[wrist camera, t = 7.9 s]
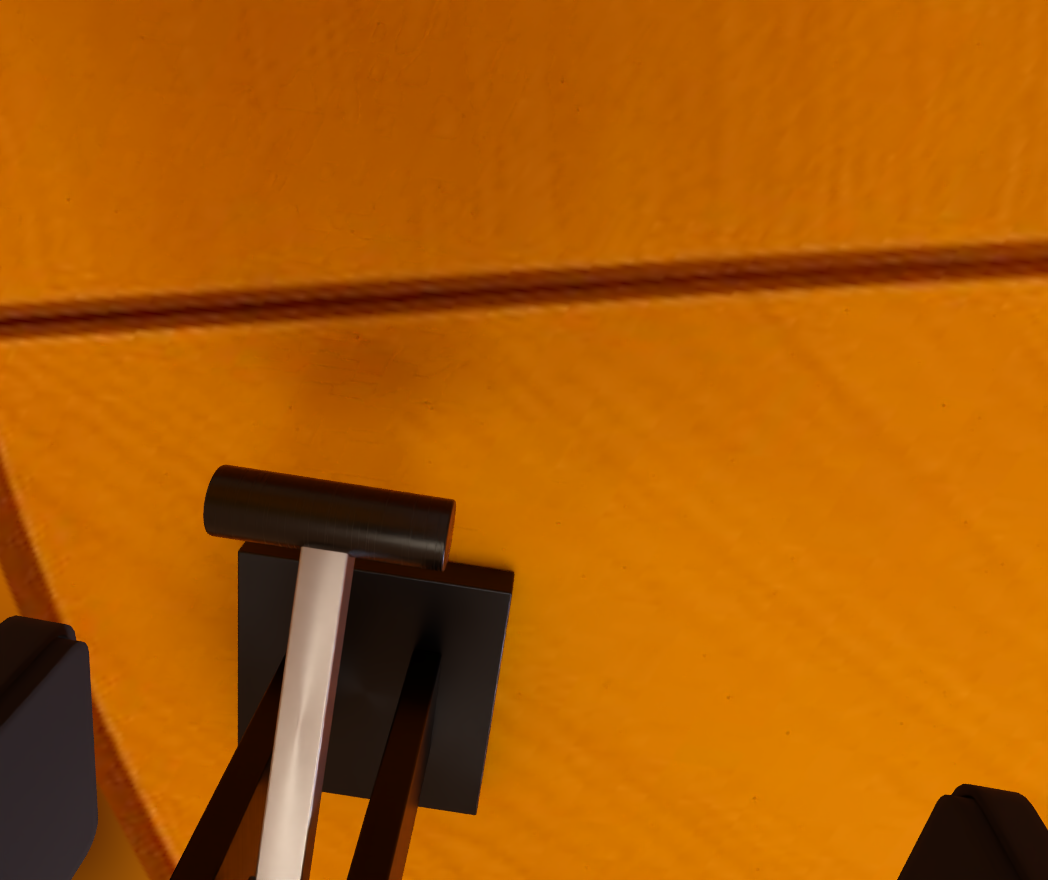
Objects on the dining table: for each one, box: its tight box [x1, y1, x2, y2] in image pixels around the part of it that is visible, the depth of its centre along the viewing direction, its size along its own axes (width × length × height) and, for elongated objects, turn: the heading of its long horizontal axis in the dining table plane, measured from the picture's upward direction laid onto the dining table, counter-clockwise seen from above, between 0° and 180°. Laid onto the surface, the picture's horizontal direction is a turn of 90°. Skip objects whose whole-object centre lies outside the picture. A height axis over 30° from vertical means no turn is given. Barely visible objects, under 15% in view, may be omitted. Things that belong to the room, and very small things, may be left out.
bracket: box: [170, 541, 515, 880], centre depth 24 cm, size 10×9×13 cm
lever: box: [203, 465, 456, 880], centre depth 20 cm, size 13×6×2 cm, turn 173°
